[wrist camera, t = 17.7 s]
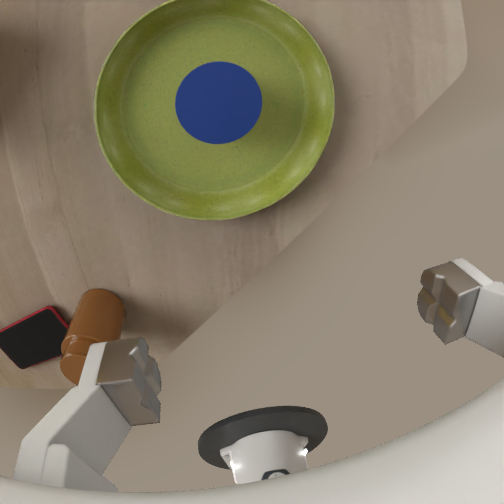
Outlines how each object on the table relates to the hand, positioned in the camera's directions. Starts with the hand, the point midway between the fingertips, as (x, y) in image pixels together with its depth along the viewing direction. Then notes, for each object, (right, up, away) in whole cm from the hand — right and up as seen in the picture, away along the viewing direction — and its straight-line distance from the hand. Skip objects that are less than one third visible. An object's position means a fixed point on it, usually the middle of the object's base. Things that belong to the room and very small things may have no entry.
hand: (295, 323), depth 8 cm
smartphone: (-31, -10, +27) cm, 42 cm away
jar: (-19, -5, +26) cm, 33 cm away
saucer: (-5, +15, +18) cm, 24 cm away
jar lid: (-4, +13, +13) cm, 19 cm away
